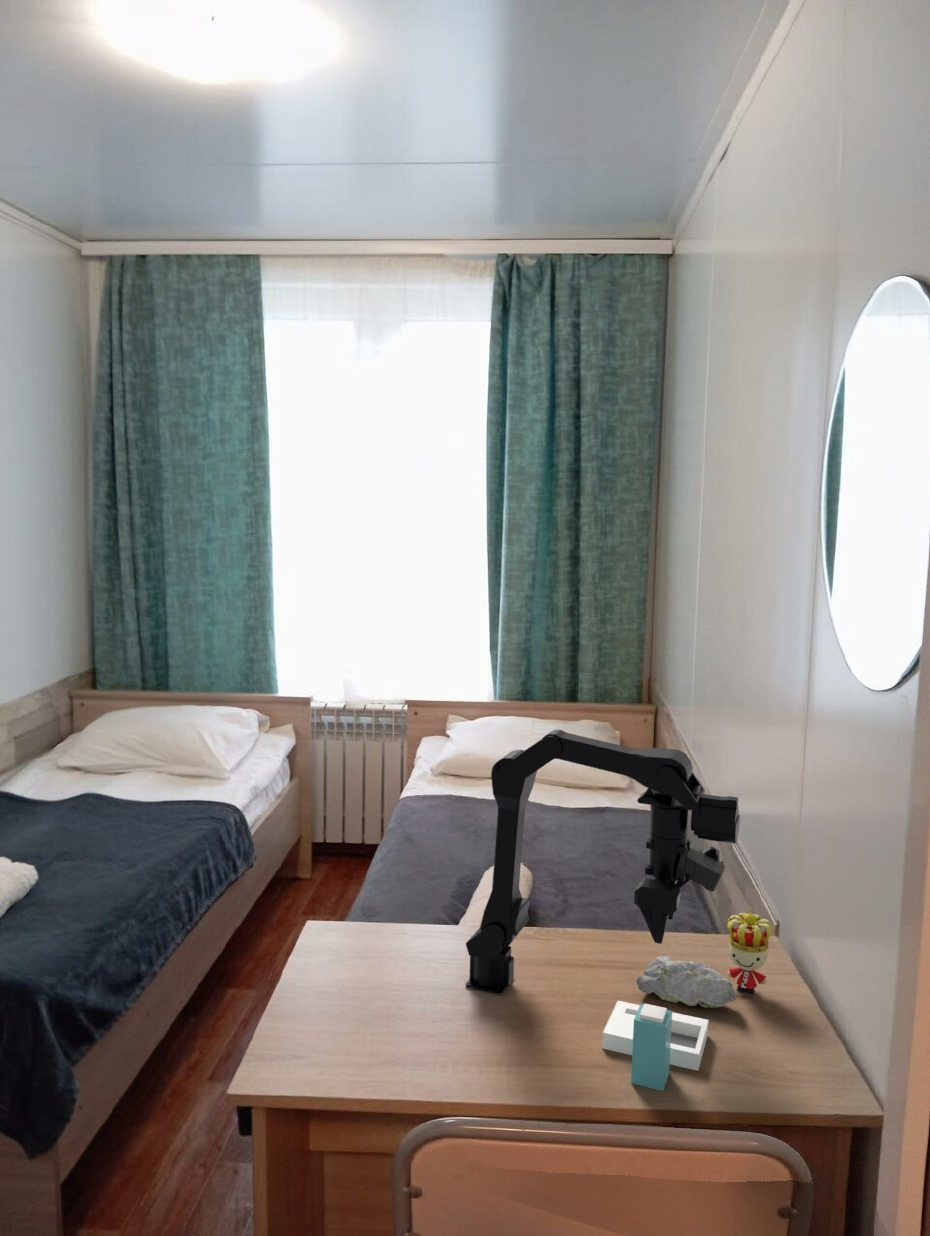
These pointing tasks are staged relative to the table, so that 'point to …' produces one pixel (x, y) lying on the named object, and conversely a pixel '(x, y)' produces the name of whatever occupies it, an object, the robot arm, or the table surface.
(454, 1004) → the table surface
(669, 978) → the rock
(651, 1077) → the plug
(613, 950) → the table surface
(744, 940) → the toy
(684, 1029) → the socket plate
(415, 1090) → the table surface
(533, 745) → the robot arm
